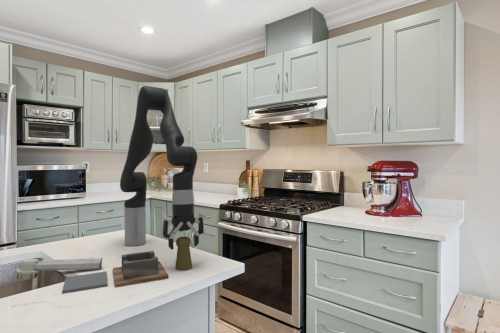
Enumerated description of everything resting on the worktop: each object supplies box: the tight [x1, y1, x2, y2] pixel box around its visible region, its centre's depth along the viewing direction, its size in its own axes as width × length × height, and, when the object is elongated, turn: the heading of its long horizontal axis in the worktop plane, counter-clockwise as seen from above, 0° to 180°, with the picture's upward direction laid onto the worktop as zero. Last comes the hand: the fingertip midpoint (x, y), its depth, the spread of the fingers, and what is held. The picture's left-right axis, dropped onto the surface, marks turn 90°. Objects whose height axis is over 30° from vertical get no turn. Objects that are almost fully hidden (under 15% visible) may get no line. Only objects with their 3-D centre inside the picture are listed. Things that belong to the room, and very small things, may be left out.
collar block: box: [112, 250, 169, 288], centre depth 106 cm, size 16×16×6 cm
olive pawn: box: [174, 236, 193, 272], centre depth 112 cm, size 6×6×11 cm
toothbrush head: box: [15, 256, 103, 281], centre depth 107 cm, size 5×7×25 cm
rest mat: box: [61, 271, 109, 294], centre depth 99 cm, size 12×12×1 cm
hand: (183, 247), depth 112 cm, fingers open, 8 cm apart
